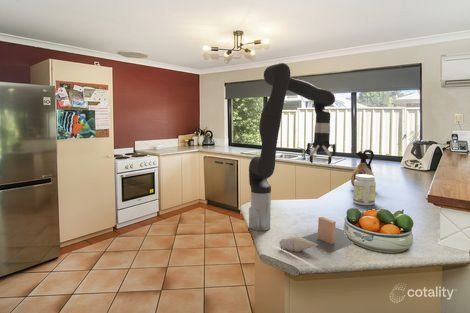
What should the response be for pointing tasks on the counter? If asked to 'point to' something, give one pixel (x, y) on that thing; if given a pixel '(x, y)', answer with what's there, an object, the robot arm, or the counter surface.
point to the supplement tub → (364, 189)
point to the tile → (326, 230)
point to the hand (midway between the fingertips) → (320, 163)
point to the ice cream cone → (296, 243)
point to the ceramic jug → (363, 165)
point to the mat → (339, 243)
